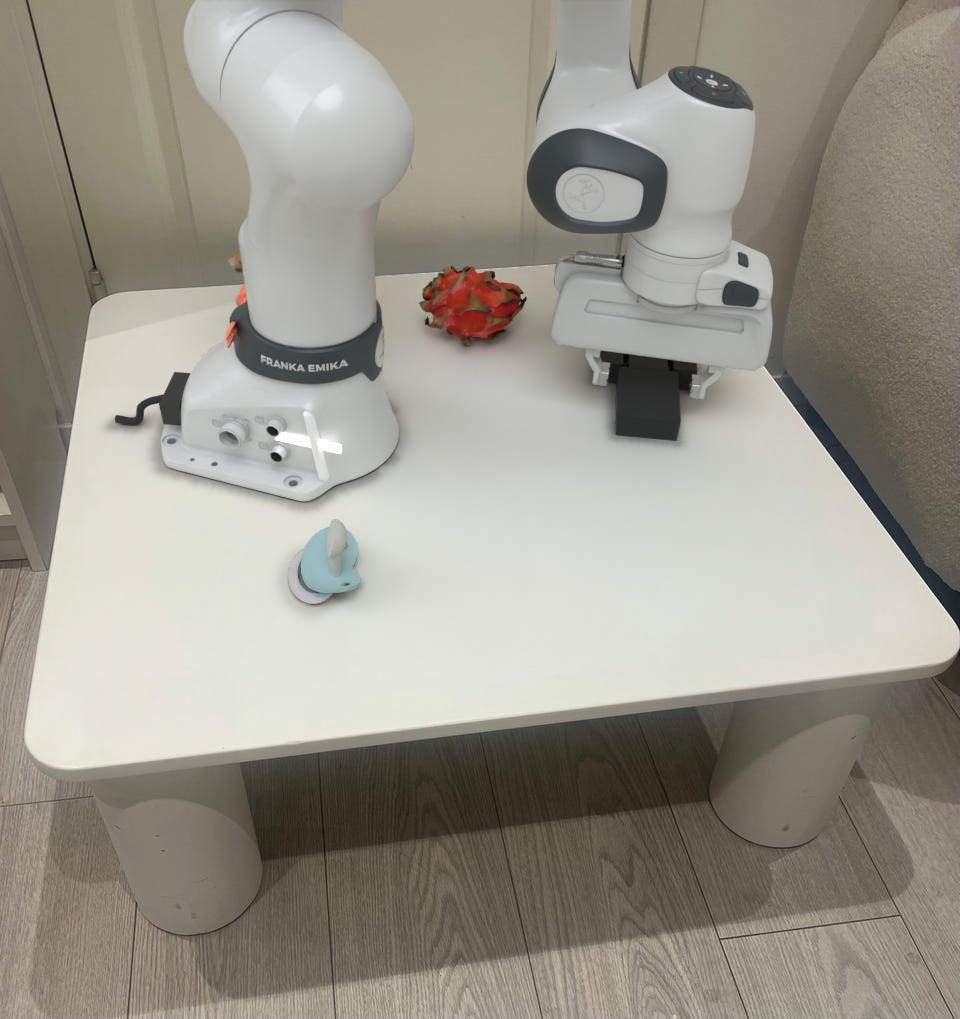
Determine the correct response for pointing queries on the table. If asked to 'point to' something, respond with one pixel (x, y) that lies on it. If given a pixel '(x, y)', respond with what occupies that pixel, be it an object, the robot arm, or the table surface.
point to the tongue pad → (647, 399)
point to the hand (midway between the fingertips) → (647, 388)
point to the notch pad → (681, 367)
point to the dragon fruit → (471, 303)
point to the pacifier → (325, 564)
